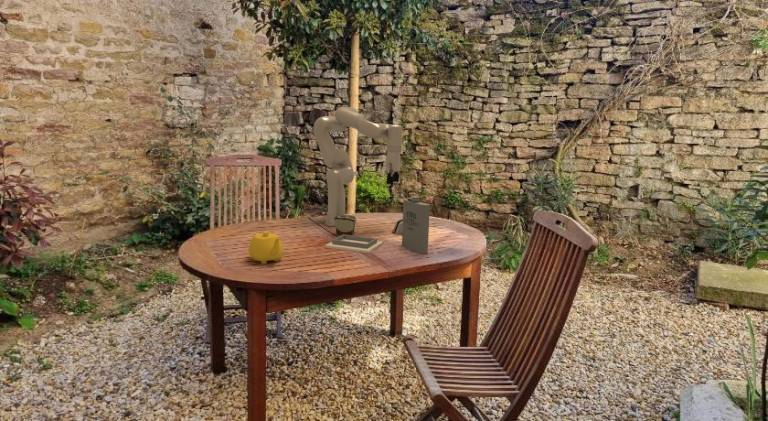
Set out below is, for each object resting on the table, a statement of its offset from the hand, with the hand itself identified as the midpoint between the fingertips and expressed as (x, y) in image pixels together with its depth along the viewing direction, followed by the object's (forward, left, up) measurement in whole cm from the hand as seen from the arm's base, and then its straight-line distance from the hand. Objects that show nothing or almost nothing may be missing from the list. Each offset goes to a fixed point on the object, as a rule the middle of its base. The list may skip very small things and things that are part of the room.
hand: (392, 182), depth 257 cm
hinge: (+7, +7, -27) cm, 29 cm away
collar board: (-7, -30, -27) cm, 41 cm away
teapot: (-30, -68, -27) cm, 79 cm away
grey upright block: (+20, -23, -27) cm, 41 cm away
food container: (-19, -13, -27) cm, 36 cm away
